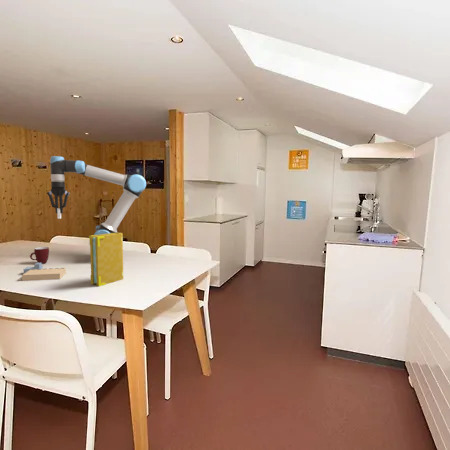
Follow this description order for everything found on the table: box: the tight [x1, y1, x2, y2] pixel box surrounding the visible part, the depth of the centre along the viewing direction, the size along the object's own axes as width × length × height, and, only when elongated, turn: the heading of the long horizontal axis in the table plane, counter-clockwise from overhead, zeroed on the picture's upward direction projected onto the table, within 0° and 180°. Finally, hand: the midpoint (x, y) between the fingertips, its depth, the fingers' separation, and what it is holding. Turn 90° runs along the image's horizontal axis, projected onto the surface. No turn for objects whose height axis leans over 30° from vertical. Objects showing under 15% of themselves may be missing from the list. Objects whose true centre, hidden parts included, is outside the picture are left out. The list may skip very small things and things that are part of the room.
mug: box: [29, 246, 50, 265], centre depth 198 cm, size 11×8×10 cm
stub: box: [23, 262, 44, 274], centre depth 175 cm, size 8×5×5 cm
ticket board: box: [21, 267, 67, 282], centre depth 168 cm, size 18×12×3 cm, turn 104°
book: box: [88, 232, 124, 287], centre depth 161 cm, size 17×7×25 cm, turn 148°
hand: (59, 218), depth 196 cm, fingers closed
